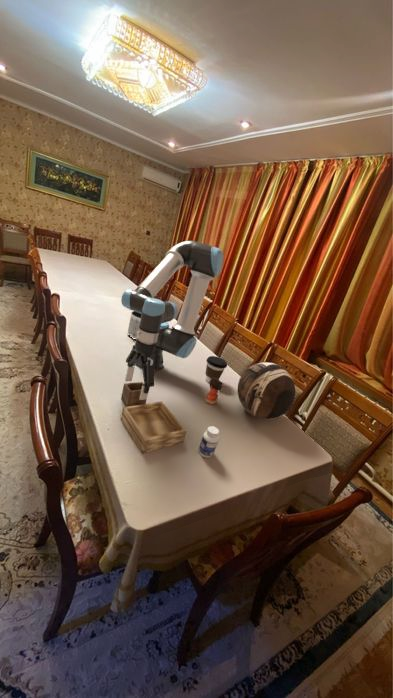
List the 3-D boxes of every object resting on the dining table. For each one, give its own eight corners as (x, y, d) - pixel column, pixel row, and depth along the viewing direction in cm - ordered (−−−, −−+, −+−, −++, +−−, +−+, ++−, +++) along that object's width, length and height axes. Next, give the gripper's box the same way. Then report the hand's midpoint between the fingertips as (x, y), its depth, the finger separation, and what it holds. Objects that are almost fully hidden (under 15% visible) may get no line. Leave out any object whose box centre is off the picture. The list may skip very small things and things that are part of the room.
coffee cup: (225, 383, 153) (231, 363, 149) (212, 387, 145) (218, 366, 140) (209, 373, 159) (216, 354, 155) (196, 377, 151) (202, 357, 147)
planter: (150, 344, 175) (155, 322, 170) (124, 337, 174) (128, 315, 169) (154, 335, 190) (158, 315, 185) (130, 329, 189) (134, 308, 184)
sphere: (251, 434, 117) (273, 381, 108) (220, 398, 137) (237, 351, 128) (294, 428, 130) (316, 380, 121) (260, 396, 150) (277, 353, 141)
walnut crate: (139, 396, 121) (142, 381, 119) (145, 404, 117) (148, 389, 114) (121, 398, 116) (124, 383, 114) (127, 407, 112) (130, 391, 109)
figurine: (218, 401, 134) (226, 378, 130) (215, 406, 129) (223, 383, 125) (206, 395, 136) (213, 373, 132) (202, 401, 131) (209, 378, 126)
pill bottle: (197, 445, 102) (204, 423, 99) (212, 448, 103) (219, 426, 100) (198, 456, 97) (206, 433, 94) (214, 459, 98) (222, 436, 95)
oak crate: (158, 411, 114) (161, 401, 113) (183, 442, 102) (186, 430, 100) (120, 418, 105) (123, 407, 103) (142, 453, 92) (145, 440, 90)
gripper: (123, 327, 113) (114, 374, 120) (153, 355, 96) (140, 409, 103) (141, 328, 118) (131, 373, 125) (172, 355, 100) (158, 406, 108)
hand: (135, 389), depth 114 cm, fingers open, 13 cm apart
